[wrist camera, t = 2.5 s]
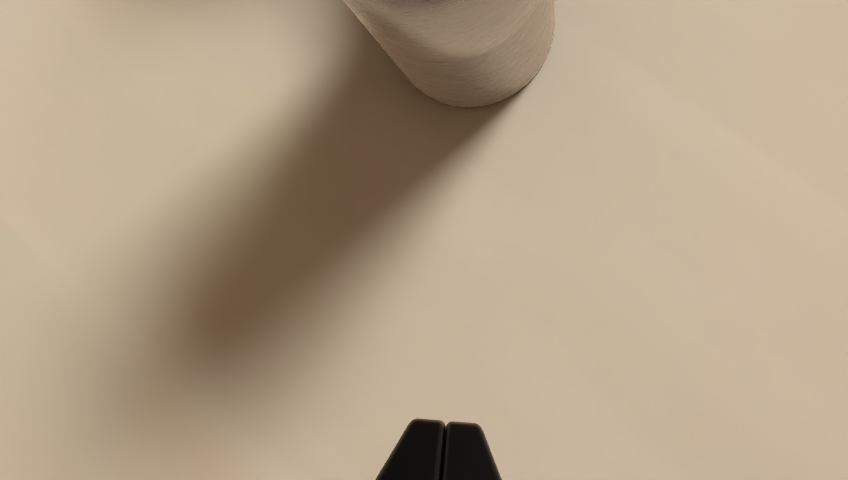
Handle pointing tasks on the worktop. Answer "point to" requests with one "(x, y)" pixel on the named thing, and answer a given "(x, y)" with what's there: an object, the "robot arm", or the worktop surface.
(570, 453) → the worktop surface
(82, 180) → the worktop surface
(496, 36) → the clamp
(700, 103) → the worktop surface
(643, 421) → the worktop surface
